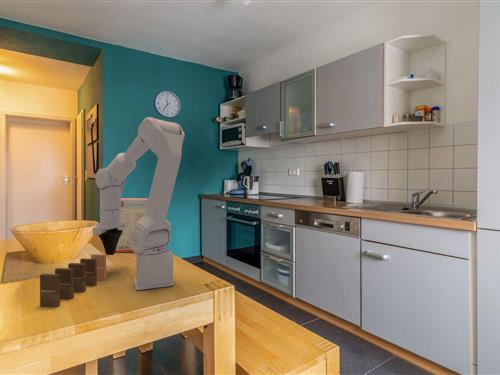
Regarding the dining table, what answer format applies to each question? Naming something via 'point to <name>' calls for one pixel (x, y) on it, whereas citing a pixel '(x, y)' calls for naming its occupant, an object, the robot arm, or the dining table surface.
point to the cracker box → (130, 220)
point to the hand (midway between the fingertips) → (110, 254)
